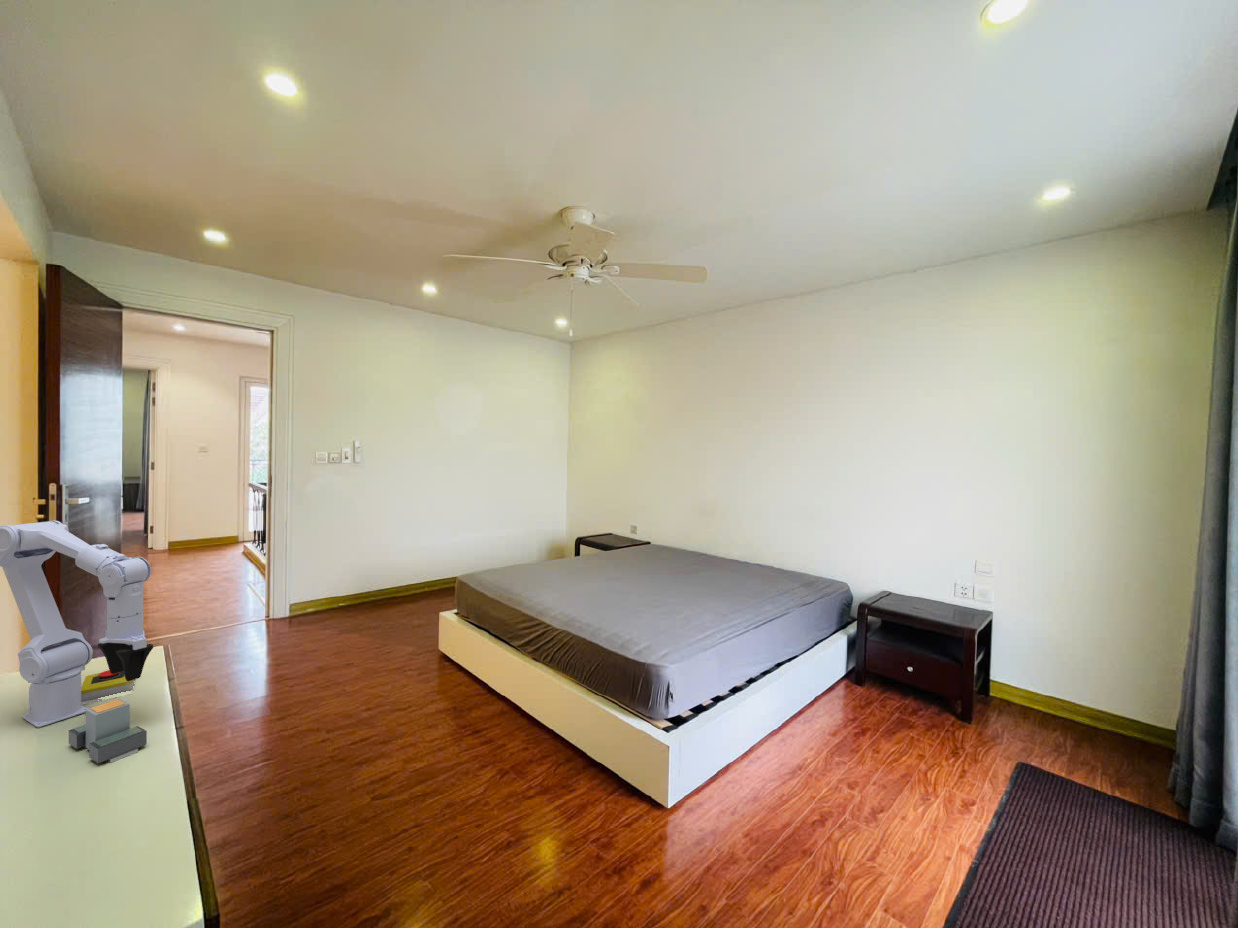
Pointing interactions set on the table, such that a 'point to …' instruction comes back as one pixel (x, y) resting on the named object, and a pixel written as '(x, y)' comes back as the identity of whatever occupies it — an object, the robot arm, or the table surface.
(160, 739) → the table surface
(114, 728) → the block
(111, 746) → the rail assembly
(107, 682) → the emergency button
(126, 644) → the robot arm
